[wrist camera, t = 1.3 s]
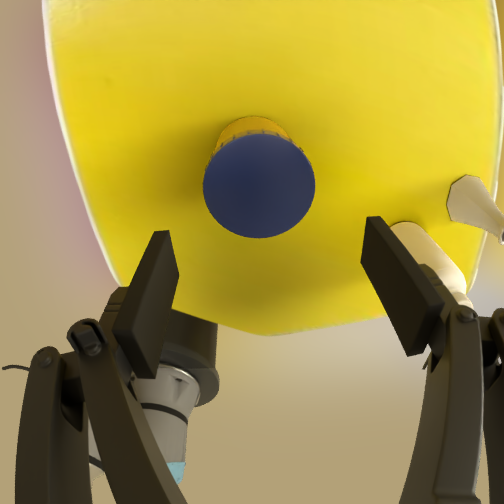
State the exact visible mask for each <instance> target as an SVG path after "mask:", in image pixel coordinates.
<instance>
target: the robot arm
mask: <svg viewBox="0 0 504 504" xmlns="http://www.w3.org/2000/svg"><path fill="white" fill-rule="evenodd" d="M360 263H361V264H362V266H363V268H364V270H365V272H366V274H367V276H368V278H369V279H370V281H371V283H372V285H373V287H374V289H375V291H376V293H377V295H378V297H379V299H380V301H381V303H382V305H383V307H384V309H385V311H386V313H387V315H388V317H389V318H390V321H391V323H392V325H393V327H394V329H395V331H396V333H397V335H398V338H399V340H400V342H401V344H402V346H403V348H404V350H405V353H406V355H407V357H409V356H413V355H417V354H422V353H423V352H424V350H425V348H426V346H427V344H429V346H430V348H431V352H430V354H429V356H428V358H427V360H426V362H425V364H424V366H423V369H425V368H426V366H427V365H428V367H427V377H426V385H425V392H424V399H423V405H422V412H421V418H420V423H419V428H418V433H417V438H416V443H415V447H414V451H413V455H412V460H411V463H410V467H409V471H408V475H407V478H406V482H405V485H404V488H403V492H402V495H401V498H400V501H399V504H481V501H480V500H479V499H478V498H477V497H476V495H475V488H476V483H477V477H478V469H479V462H480V454H481V444H482V432H483V431H484V438H485V445H486V454H487V464H488V476H489V497H490V504H504V308H498V309H496V310H495V311H494V313H493V315H492V317H480V316H479V317H478V315H477V313H476V312H475V311H474V310H473V309H472V308H470V307H468V306H466V305H459V304H458V302H457V301H456V300H455V298H454V297H453V295H452V294H451V293H450V291H449V290H448V288H447V287H446V286H445V285H444V283H443V282H442V280H441V279H439V276H438V275H437V274H436V272H435V271H434V270H433V269H432V268H430V267H429V266H428V265H426V264H418V263H417V262H416V260H415V259H414V258H413V256H412V255H411V254H410V253H409V251H408V250H407V249H406V247H405V246H404V245H403V244H402V242H401V241H400V240H399V239H398V237H397V236H396V235H395V234H394V232H393V231H392V230H391V229H390V227H389V226H388V225H387V224H386V223H385V221H384V220H383V219H382V218H381V217H380V216H373V217H367V218H366V226H365V234H364V241H363V248H362V255H361V262H360ZM178 279H179V272H178V268H177V263H176V259H175V255H174V250H173V246H172V242H171V237H170V232H169V230H164V231H154V233H153V235H152V237H151V239H150V241H149V244H148V246H147V248H146V250H145V252H144V254H143V256H142V259H141V261H140V263H139V265H138V267H137V270H136V272H135V274H134V276H133V279H132V281H131V283H130V285H129V287H118V288H117V289H116V290H115V291H114V292H113V293H112V294H111V296H110V298H109V301H108V303H107V305H106V307H105V309H104V312H103V314H102V316H101V319H100V320H99V323H98V321H96V320H95V319H90V318H87V319H83V320H80V321H78V322H76V323H75V324H74V325H72V326H71V327H70V329H69V331H68V332H67V339H68V341H69V342H70V344H71V346H72V347H73V349H74V351H73V352H69V353H65V354H60V353H59V352H58V350H57V349H56V348H54V347H50V346H47V347H44V348H42V349H40V350H39V351H37V353H36V354H35V355H34V356H33V359H32V361H31V365H30V368H28V367H24V366H19V365H8V366H5V367H2V369H3V370H6V369H9V368H17V369H23V370H27V371H29V374H28V379H27V384H26V389H25V394H24V400H23V405H22V411H21V418H20V426H19V434H18V443H17V455H16V472H15V473H16V474H15V504H92V494H91V489H92V483H93V480H95V479H96V478H98V477H100V476H102V475H104V471H105V474H106V477H107V480H108V482H109V485H110V488H111V491H112V493H113V496H114V499H115V501H116V504H187V502H186V500H185V498H184V496H183V495H182V493H181V491H180V489H179V487H178V484H179V483H180V482H181V481H182V478H183V472H184V466H185V464H186V463H185V452H186V438H187V424H188V418H189V416H190V414H191V412H192V410H193V408H194V406H195V404H196V405H197V403H198V400H199V397H200V395H199V394H201V393H200V383H199V381H198V379H197V378H196V377H195V376H194V375H193V374H192V373H191V372H189V371H188V370H186V369H184V368H182V367H180V366H177V365H175V364H172V363H168V362H163V361H159V360H160V355H161V351H162V346H163V342H164V337H165V333H166V328H167V324H168V320H169V315H170V311H171V307H172V303H173V299H174V295H175V291H176V287H177V283H178ZM499 357H500V359H501V362H502V363H501V364H499V362H498V358H499ZM196 402H197V403H196Z"/></svg>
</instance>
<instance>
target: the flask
mask: <svg viewBox="0 0 504 504" xmlns="http://www.w3.org/2000/svg"><path fill="white" fill-rule="evenodd" d="M447 207H448V211H449V214H450V218H451V220H452V221H455V222H460V223H464V224H468V225H472V226H475V227H478V228H482V229H484V230H486V231H488V232H490V233H492V234H493V235H494V236H496V237H497V238H498V239H499V243H500V244H501V245H504V215H503V214H502V212H501V211H500V210H499V209H498V208H497V206H496V204H495V202H494V201H493V199H492V197H491V196H490V194H489V192H488V191H487V189H486V187H485V186H484V184H483V182H482V181H481V179H480V178H478V177H474V176H469V175H466V176H464V177H463V178H461V179H460V180H458V181H457V182H455V183H454V184H452V186H451V190H450V194H449V198H448V202H447Z"/></svg>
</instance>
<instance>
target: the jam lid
mask: <svg viewBox="0 0 504 504" xmlns="http://www.w3.org/2000/svg"><path fill="white" fill-rule="evenodd" d="M303 152H304V151H303V150H302V149H301V148H300V147H298V146H297V145H296V144H295V143H294V142H293V141H292V140H291V139H290V138H287V137H285V136H284V135H281V134H279V133H278V132H277V131H276V132H273V131H269V130H264V129H262V130H247V131H244V132H241V133H238V134H236V135H235V134H233V136H232V137H230V138H228V139H227V140H226V141H224V142H223V143H221V145H220V146H219V147H218V148H217V149H216V151H215V152H214V153H212V155H211V159H210V161H209V163H208V165H206V168H205V171H206V172H205V175H204V180H203V194H204V199H205V202H206V205H207V207H208V209H209V211H210V213H211V214H212V216H213V217H214V218H215V219H216V221H217V222H218V223H219V224H221V225H222V226H223V227H224V228H226V229H227V230H229V231H231V232H233V233H235V234H238V235H240V236H244V237H249V238H267V237H272V236H276V235H279V234H281V233H284V232H286V231H288V230H289V229H291V228H292V227H294V226H295V225H296V224H297V223H299V222H300V220H301V219H302V218H303V217H304V216H305V214H306V213H307V212H308V210H309V208H310V206H311V204H312V201H313V198H314V193H315V177H314V172H313V169H312V166H311V163H310V162H309V160H308V159H307V157H306V156H305V155H304V153H303Z"/></svg>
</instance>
